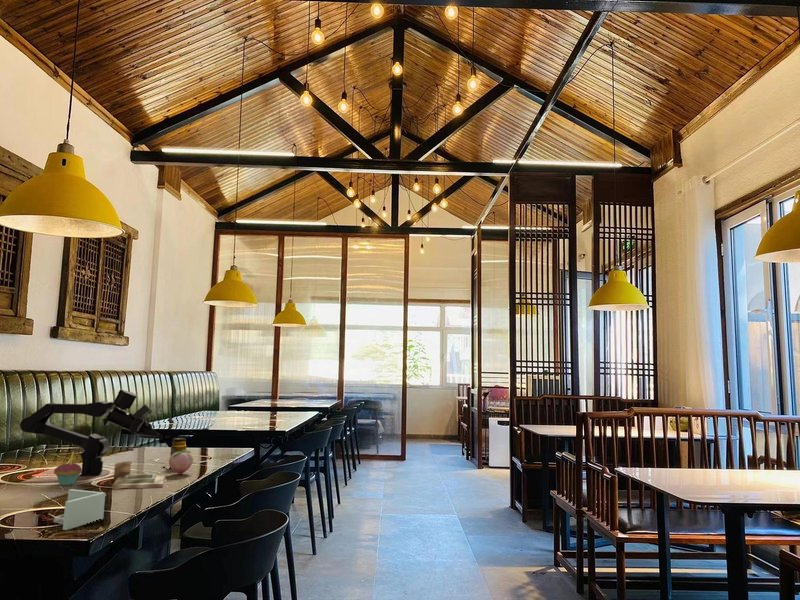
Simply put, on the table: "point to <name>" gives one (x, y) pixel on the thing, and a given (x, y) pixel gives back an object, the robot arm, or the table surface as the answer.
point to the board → (139, 481)
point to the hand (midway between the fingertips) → (160, 436)
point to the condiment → (178, 445)
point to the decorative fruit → (180, 461)
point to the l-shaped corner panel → (81, 508)
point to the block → (122, 469)
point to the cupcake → (68, 472)
